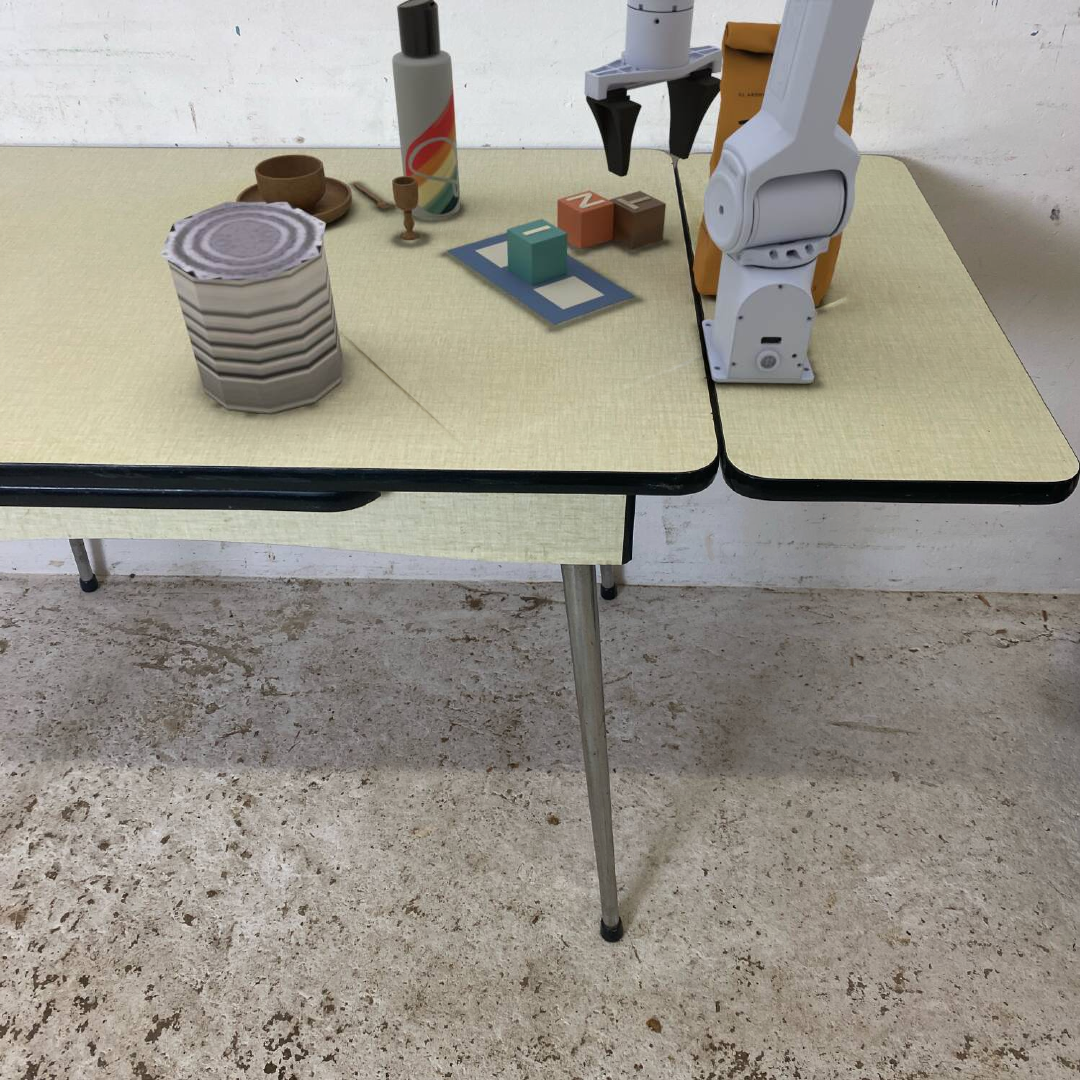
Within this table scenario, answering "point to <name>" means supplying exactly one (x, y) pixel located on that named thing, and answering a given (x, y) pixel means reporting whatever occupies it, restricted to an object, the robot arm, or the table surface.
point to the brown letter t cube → (638, 219)
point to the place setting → (321, 190)
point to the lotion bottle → (426, 110)
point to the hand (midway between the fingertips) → (648, 164)
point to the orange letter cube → (586, 219)
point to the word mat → (548, 298)
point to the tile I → (537, 251)
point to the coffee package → (740, 102)
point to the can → (257, 304)
